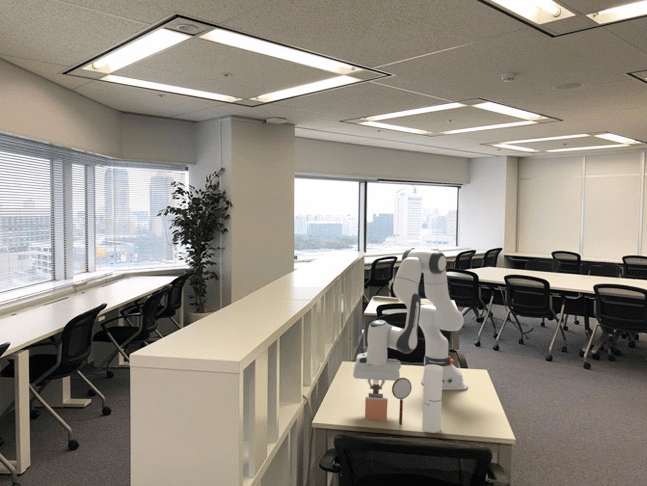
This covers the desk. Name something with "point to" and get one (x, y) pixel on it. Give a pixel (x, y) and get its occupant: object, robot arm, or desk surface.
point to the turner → (376, 390)
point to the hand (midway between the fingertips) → (375, 388)
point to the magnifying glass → (401, 392)
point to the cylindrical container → (432, 398)
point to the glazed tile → (376, 408)
